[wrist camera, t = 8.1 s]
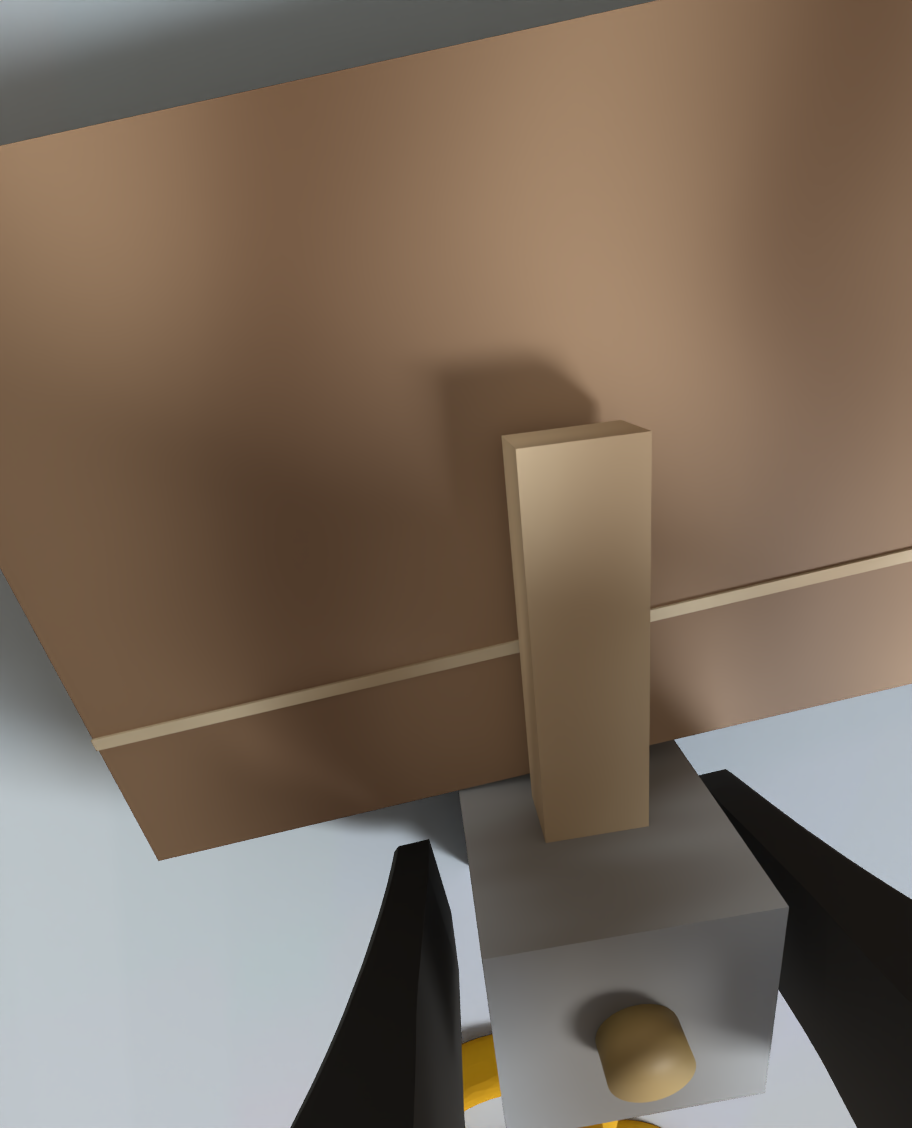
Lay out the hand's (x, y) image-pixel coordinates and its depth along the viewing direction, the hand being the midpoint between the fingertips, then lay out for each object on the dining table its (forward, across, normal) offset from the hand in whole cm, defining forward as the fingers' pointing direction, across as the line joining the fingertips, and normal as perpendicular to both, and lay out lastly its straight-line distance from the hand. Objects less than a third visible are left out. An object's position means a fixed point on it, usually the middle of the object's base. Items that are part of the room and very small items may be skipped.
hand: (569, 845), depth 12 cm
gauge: (+2, 0, -3) cm, 4 cm away
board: (+1, -5, -8) cm, 9 cm away
